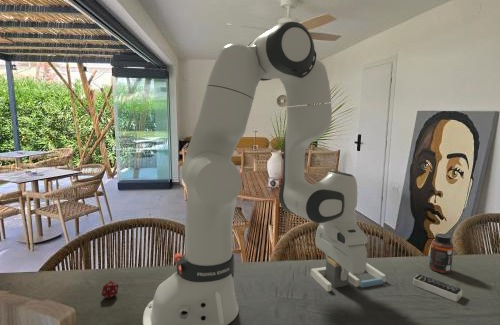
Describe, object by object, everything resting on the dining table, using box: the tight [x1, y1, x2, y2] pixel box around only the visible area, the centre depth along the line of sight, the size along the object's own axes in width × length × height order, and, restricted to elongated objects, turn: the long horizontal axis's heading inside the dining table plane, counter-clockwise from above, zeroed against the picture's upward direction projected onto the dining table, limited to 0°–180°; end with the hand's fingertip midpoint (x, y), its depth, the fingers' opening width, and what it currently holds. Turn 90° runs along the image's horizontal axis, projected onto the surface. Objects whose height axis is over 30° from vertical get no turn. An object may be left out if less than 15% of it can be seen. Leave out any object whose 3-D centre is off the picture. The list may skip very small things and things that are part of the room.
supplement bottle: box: [428, 233, 454, 274], centre depth 95 cm, size 6×6×11 cm
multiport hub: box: [412, 274, 463, 303], centre depth 83 cm, size 4×11×2 cm, turn 39°
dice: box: [101, 280, 119, 300], centre depth 78 cm, size 4×4×4 cm
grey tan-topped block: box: [325, 257, 349, 289], centre depth 87 cm, size 4×4×7 cm
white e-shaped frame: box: [310, 262, 387, 293], centre depth 89 cm, size 19×10×2 cm, turn 107°
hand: (336, 274), depth 87 cm, fingers closed on grey tan-topped block, 4 cm apart
